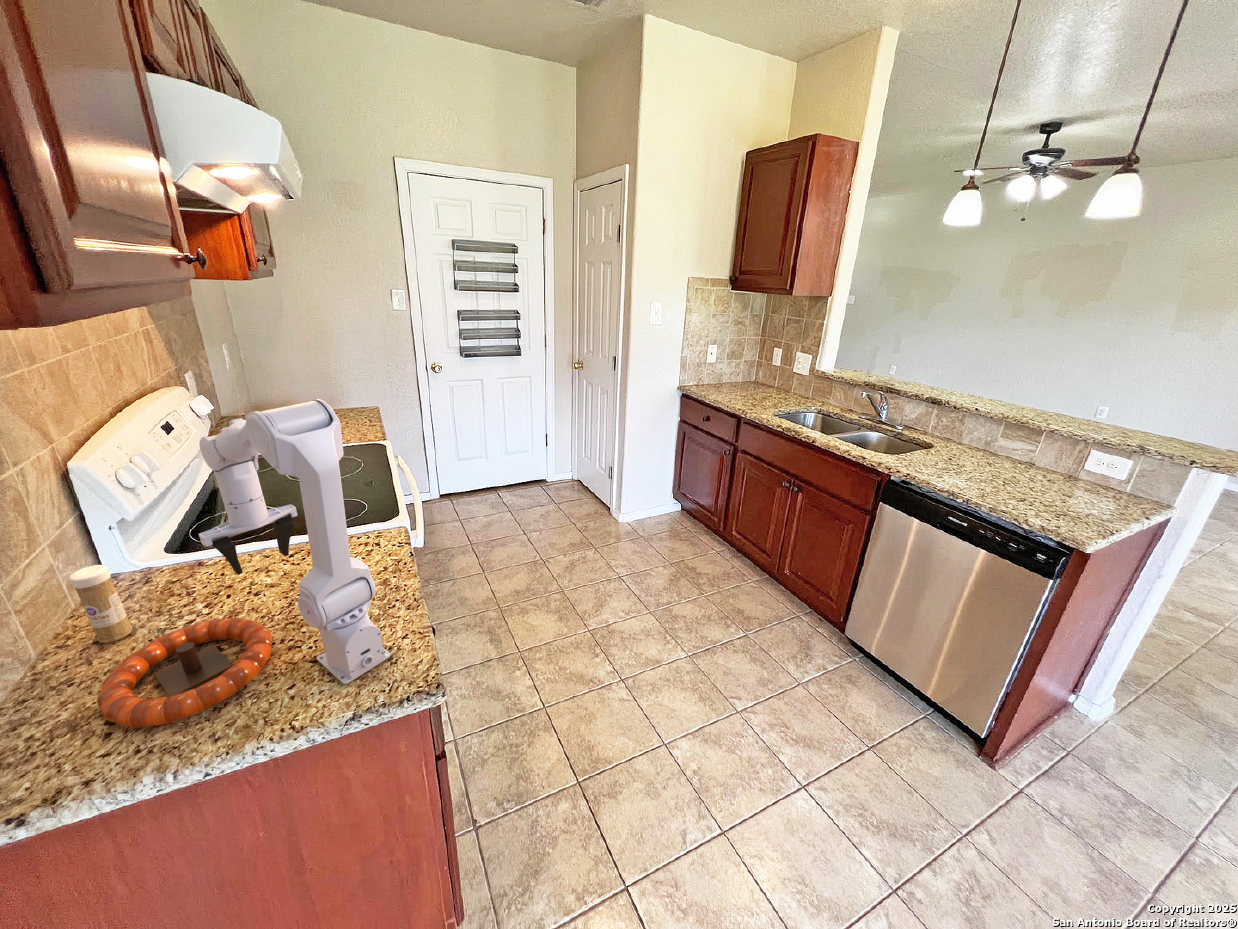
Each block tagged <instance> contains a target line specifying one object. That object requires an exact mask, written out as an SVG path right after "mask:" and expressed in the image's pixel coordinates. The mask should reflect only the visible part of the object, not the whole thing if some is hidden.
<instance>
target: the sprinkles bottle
mask: <svg viewBox="0 0 1238 929" xmlns="http://www.w3.org/2000/svg"><path fill="white" fill-rule="evenodd" d="M68 580H69V582H70V584H71V586H72V588H74V590H75V591H76V593H77V595H78V598H79V600H80V602H81V604H82V606H83V608H84V611H85V615H86V617H87V619H88V622H89V624H90V626H91V627H92V629H93V631H94V633H95V635H96V641H98V642H99V643H101V644H109V643H113V642H117V641H119V640H121V639H123V638H125V637H127V636H129V634H131V632H133V629H134V628H133V626H132V625H131V622H130V620H129V618H128V616H127V612H126V610H125V608H124V605H123V603H122V601H121V598H120V596H119V593H118V591H117V589H116V587H115V585H114V582H113V581H112V575H111V572H110V570H109V567H108V566H107V565H104V564H95V565H89V566H86V567H83V568H80V569H78V570H76V571H74V572H73V573H71V574H70V575H69V577H68Z"/></svg>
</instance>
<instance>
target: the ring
mask: <svg viewBox="0 0 1238 929" xmlns="http://www.w3.org/2000/svg"><path fill="white" fill-rule="evenodd" d="M223 640H225V641H226V640H233V641H239V642H242V643H243V644H244V645H245V649H244V652H243V654H242V655H241V656H240V658H238V661H237V662H234V664H232V665H233V666H232V667H230V668H229V669H228V670H226V671H225V672H224V673H223V674H221V675H220V676H218V677H216V678H214V679H212V680H211V681H209V682H207V683H205V684H203V685H201V686H199V687H197V688H195V689H192V690H189V691H186V692H182V693H179V694H176V695H173V696H170V697H168V696H165V697H164V696H163V697H155V698H154V697H153V698H144V697H140V696H137V695H135V693H134V690H135V687H136V684H137V683H138V682H139V681H140V680H141V679H142V677H143V676H144V675H146V673H147V672H148V671H150V670H151V669H152V668H154V667H156V666H157V665H158V664H160V663H162V662H163V661H165V660H167V659H168V658H170V657H171V656H175V655H176V654H177V652H176V649H177V648H178V647H179V646H180V645H182V644H185V643H189V642H192V643H194V645H195V646H199V645H203V644H205V643H206V644H207V643H209V642H213V641H214V642H215V641H223ZM272 646H273V635H272V633H271V631H269V629H267V628H266V626H264V625H263V623H261V622H259V621H257V620H253V619H248V618H244V617H243V618H242V617H227V618H226V617H225V618H213V619H209V620H204V621H201V622H198V623H194V624H190V625H186V626H183V627H181V628H178V629H176V630H173V631H171V632H169V633H167V634H164V635H162V636H160V637H158V638H155V639H153V640H152V641H150V642H148V643H147V644H146V645H144V646H142V647H141V648H139V649H137V650H136V651H134V652H133V653H131V654H130V655H128V656H127V657H126V658H125V659H123V661H121V662H120V663H119V664H118V665H117V666H116V667H115V668H114V669H113V670H112V671H111V672H110V673H109V674H108V675H107V676H106V678H105V679H104V682H103V683H102V686H101V689H100V691H99V693H98V696H97V698H96V702H97V706H98V708H99V710H100V711H101V714H102V715H103V718H104V719H105V720H106V721H108V722H110V723H113V724H117V725H121V726H125V727H128V728H144V727H151V726H152V727H153V726H160V725H168V724H172V723H174V722H177V721H180V720H183V719H185V718H190V717H191V716H195V715H198V714H201V713H203V712H206V711H207V710H209V709H210V708H213V707H214V706H216V705H218V704H220V703H222V702H223V701H225V700H227V699H229V698H230V697H232V696H234V695H235V694H237V693H238V692H239V691H240V690H241V689H243V688H244V687H245V686H246V685H247V684H249V683H250V682H251V681H252V680H253V679H254V678H256V677H257V676H258V675H259V673H260V672H261V671H262V669H263V667H264V666H265V664H267V661H268V660H269V659H270V657H271V655H272V652H273V651H272V650H273V647H272Z"/></svg>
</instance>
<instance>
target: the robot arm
mask: <svg viewBox="0 0 1238 929" xmlns="http://www.w3.org/2000/svg"><path fill="white" fill-rule="evenodd" d="M244 416H245V419H243V418H241V417H240V418H236V419H235V418H234V419H231V420H230V421H229V422H228V423H229V426H227V427H223V428H221V430H220V432H219V433H218V434H215V435H210V436H201V437H200V439H199V443H198V444H199V450H200V453H201V456H202V458H203V460H204V462H205V464H206V465H207V466H208V467H209V469H210V470H212V471H213V473H214V477H215V481H216V483H217V486H218V490H219V493H220V496H221V499H222V502H223V505H224V510H225V513H226V515H227V518H228V521H226V522H223V523H221V524H219V525H217V526H214V527H213V528H211V529H208V530H205V531H203V532H200V533H198V537H199V539H200V543H201V544H202V546H204V547H205V548H208V547H210V546H212V547H213V548H214V549H215V550H217V551H218V552H219V553H220V554H221V555H222V556H223V557H224V559H226V561H227V562H228V563H229V565H230V566H231V568H232V570H233V572H234V573H235V574H237V575H238V576H240V575H242V574H244V572H243V567H242V566H241V563H240V560H239V557H238V553H237V548H236V547H237V546H236V544H235V543H234V542H232V539H231V538H232V537H234V536H238V535H240V534H243V533H247V532H249V531H253V530H257V529H259V528H262V527H265V526H267V525H269V524H271V527H272V529H273V532H274V535H275V538H276V542H277V548H278V550H279V553H280V554H281V555H282V556H284V557H289V555H290V541H291V537H292V533H293V531H294V528H295V527H296V522H295V519H293V518H295V517H298V511H297V508H296V506H294V505H293V504H286V505H283V506H279V507H273V508H269V509H268V508H267V505H266V501H265V497H264V494H263V490H262V486H261V483H260V478H259V475H258V472H257V471H259V470H260V466H259V460H258V459H259V454H260V455H261V456H262V457H263V458H264V460H265V461H266V462H267V463H268V464H269V465H270V466H271V467H272V468H273V469H274V470H276V472H277V473H278V474H279V475H283V476H289V477H296V478H297V479H298V481H299V483H298V484H299V489H300V494H301V501H302V506H303V507H302V508H303V511H304V519H305V526H306V531H307V537H308V544H309V549H310V550H309V551H310V557H311V563H312V567H311V568H310V569H309V571H308V572H307V573H306V575H305V576H303V578H302V579H301V581H300V582H299V584H298V587H299V590H298V591H299V592H298V593H299V596H298V599H297V606H298V610H299V612H300V614H301V616H302V618H303V619H304V621H305V622H306V623H307V624H308V625H309V626H310V627H312V628H315V629H318V631H319V634H320V635H319V636H320V638H321V643H322V647H323V651H324V652H322V653H321V654H319V655H317V656H316V661H317V662H318V663H320V664H321V665H322V666H323V667H324V668H325V669H326V670H327V671H328V672H329V673H331V675H333V676H334V677H335V678H336V679H337V680H338V681H340V682H341V683H342V684H343V685H348V684H350V683H351V682H353V681H354V680H356V679H357V678H359V677H361V676H362V675H364V674H365V673H367V672H368V671H370V670H372V669H374V668H375V667H376V666H378V665H379V664H382V663H383V662H384V661H386V660H388V659H389V658H391V652H389V651H388V650H387V649H386V648H384V643H383V639H382V633H381V630H380V629H379V628H378V626H377V625H375V624H374V623H373V622H372V620H371V619H370V617H369V612H368V609H369V608H371V601H372V600H373V599H374V598H375V596H376V591H377V590H376V584H375V580H374V579H373V576H372V573H371V570H370V567H369V566H368V565H367V564H366V563H365V562H364V561H362V560H361V559H359V558H357V557H353V556H351V551H350V543H349V535H348V528H347V518H346V508H345V502H344V494H343V486H342V484H343V483H342V478H341V469H340V463H339V462H340V461H341V459H342V458H343V456H344V454H345V453H344V452H345V451H344V443H343V435H342V434H343V433H342V427H341V421H340V418H339V417H338V414H336V413H335V411H334V409H333V408H332V407H331V405H330V404H328V403H327V402H326V401H325V400H323V399H321V398H315V399H312V400H311V401H307V402H302V403H301V402H300V403H295V404H290V405H286V406H279V407H276V408H270V409H264V410H261V411H258V410H255V411H251V412H249V413H247V414H245V415H244Z"/></svg>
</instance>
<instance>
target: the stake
mask: <svg viewBox="0 0 1238 929" xmlns="http://www.w3.org/2000/svg"><path fill="white" fill-rule="evenodd" d="M176 652H177V653H176V654H177V657H178V659H179V660H178V661H176V662H174V663H172V664H170V665H168V666H165V667H163V668H161V669H159V670H157V671H156V672H155V671H154V672H153V675H154V678H155V680H156V681H157V682H158V684H159V685H160V687H161V688H162V690H163V691H164V693H165V694H166V697H170V696H173V695H176V694H179V693H182V692H186V691H189V690H192V689H195V688H197V687H199V686H201V685H203V684H205V683H207V682H209V681H211V680H212V679H214V678H216V677H218V676H220V675H221V674H223V673H224V672H225V671H226V670H228V669H229V668H230V667H232V666H233V665H234V664H232V663H231V662H230V661H229V660H228V659H227V657H226V656H225V655H224V654H223V653H222V651H221V650H220V649H219V648H218V647H217V646H216V645H215V644H211V645H210V646H208V647H205V648H204V649H201V650H199V651H197V649H196V645H194V643H192V642H189V643H185V644H182V645H180V646H179V647H178V648H177V649H176Z"/></svg>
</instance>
